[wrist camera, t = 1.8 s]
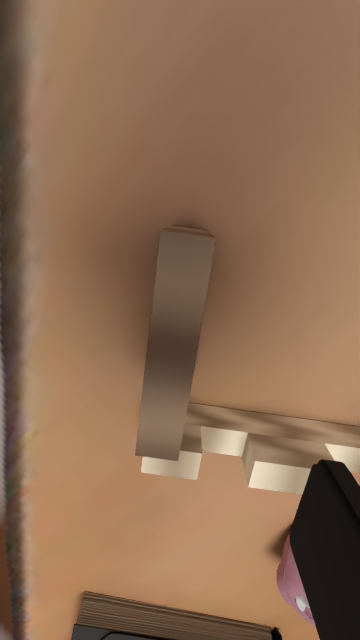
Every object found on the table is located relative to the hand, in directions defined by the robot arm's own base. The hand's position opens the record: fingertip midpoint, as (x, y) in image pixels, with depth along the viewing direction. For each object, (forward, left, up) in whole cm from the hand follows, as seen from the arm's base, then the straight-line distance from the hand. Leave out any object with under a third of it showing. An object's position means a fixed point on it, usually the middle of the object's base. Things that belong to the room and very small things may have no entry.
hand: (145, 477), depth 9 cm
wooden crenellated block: (+10, +10, -17) cm, 22 cm away
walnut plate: (0, 0, -17) cm, 17 cm away
